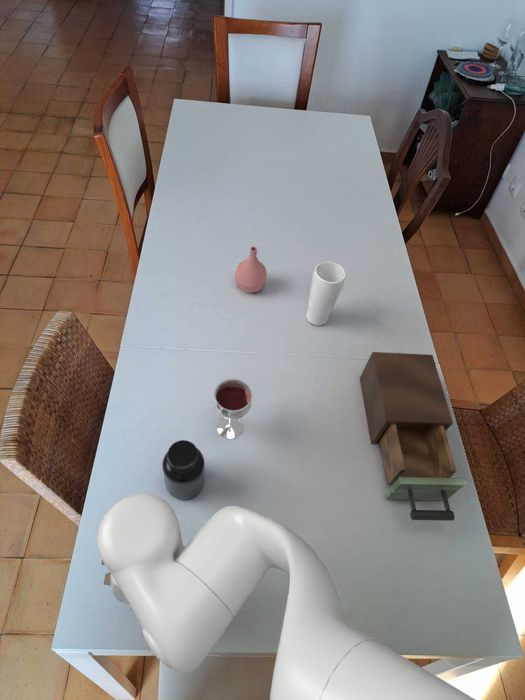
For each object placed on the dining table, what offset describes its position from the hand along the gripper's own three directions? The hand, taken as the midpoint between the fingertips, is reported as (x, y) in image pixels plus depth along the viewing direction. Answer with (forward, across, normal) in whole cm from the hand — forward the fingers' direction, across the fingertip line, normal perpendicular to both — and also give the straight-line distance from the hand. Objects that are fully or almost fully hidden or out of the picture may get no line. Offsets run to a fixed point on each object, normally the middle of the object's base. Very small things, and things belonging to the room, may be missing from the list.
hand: (164, 591), depth 65 cm
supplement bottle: (+6, 0, +19) cm, 20 cm away
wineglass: (+6, +8, +30) cm, 32 cm away
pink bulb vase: (+5, +10, +69) cm, 70 cm away
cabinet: (+6, +42, +36) cm, 56 cm away
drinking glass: (+6, +26, +60) cm, 66 cm away
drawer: (+5, +42, +22) cm, 48 cm away
